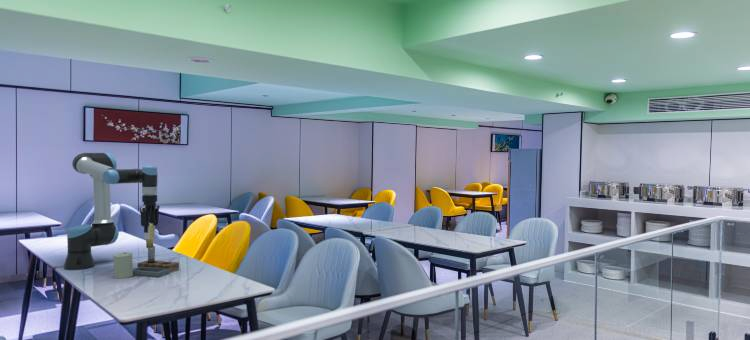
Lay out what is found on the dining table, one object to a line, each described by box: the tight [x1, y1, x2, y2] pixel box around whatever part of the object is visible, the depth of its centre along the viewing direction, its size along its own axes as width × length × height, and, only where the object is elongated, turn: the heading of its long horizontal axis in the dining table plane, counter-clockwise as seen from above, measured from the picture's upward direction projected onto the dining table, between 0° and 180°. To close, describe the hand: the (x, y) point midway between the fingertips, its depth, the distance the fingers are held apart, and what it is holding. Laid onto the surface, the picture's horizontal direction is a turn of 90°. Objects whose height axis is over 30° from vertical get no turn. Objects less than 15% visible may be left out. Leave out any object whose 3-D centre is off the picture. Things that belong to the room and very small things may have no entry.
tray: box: [133, 266, 170, 278], centre depth 283 cm, size 18×9×2 cm, turn 76°
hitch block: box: [137, 259, 180, 274], centre depth 293 cm, size 20×9×4 cm, turn 76°
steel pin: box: [147, 245, 156, 263], centre depth 294 cm, size 4×4×13 cm
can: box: [112, 252, 134, 279], centre depth 277 cm, size 9×9×12 cm
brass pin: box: [145, 222, 154, 249], centre depth 283 cm, size 4×4×13 cm
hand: (149, 237), depth 283 cm, fingers closed on brass pin, 4 cm apart
